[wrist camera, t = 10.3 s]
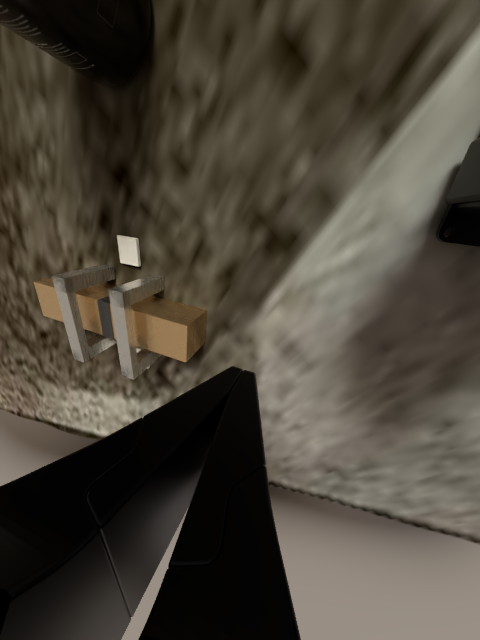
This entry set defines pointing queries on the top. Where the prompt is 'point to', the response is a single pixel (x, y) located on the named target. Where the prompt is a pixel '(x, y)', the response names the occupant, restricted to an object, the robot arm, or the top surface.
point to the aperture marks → (129, 255)
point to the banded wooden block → (135, 319)
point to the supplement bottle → (85, 33)
